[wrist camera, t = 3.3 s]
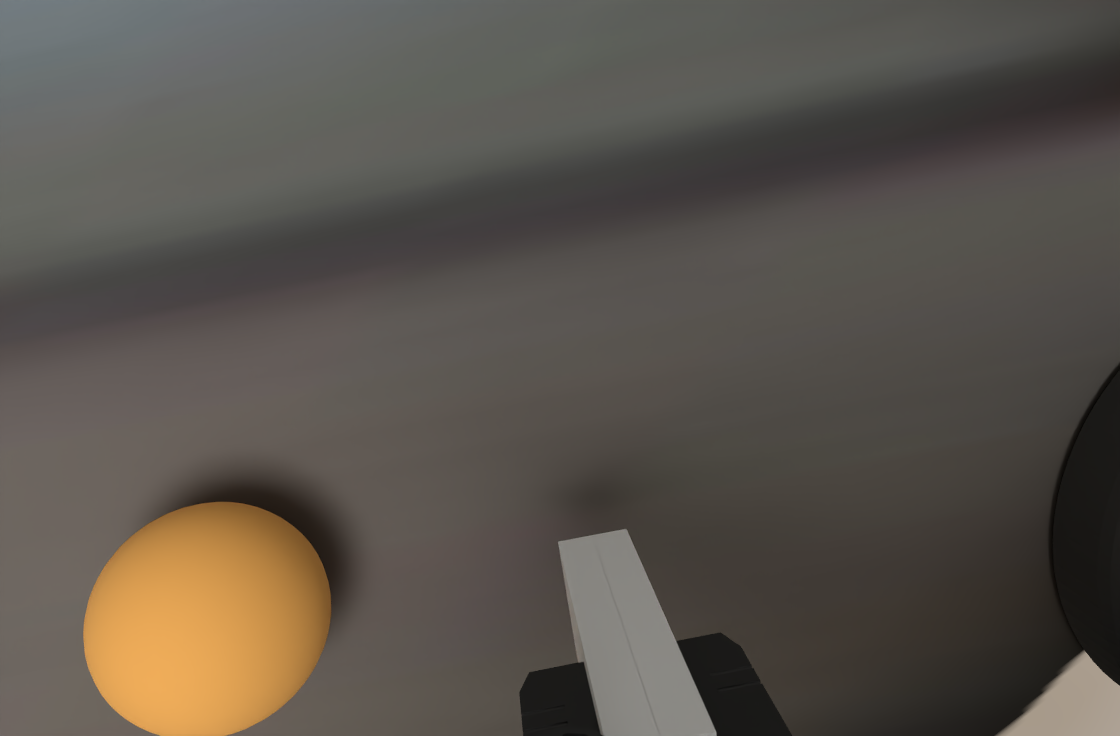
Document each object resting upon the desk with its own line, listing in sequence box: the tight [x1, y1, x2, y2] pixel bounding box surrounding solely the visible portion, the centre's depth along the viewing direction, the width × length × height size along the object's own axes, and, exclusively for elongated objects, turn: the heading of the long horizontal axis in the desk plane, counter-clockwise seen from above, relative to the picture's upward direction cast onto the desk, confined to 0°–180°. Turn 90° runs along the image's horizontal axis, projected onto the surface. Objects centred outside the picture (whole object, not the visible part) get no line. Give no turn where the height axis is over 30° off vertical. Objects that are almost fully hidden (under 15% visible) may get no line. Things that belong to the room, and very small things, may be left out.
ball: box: [83, 502, 331, 736], centre depth 20 cm, size 6×6×6 cm
